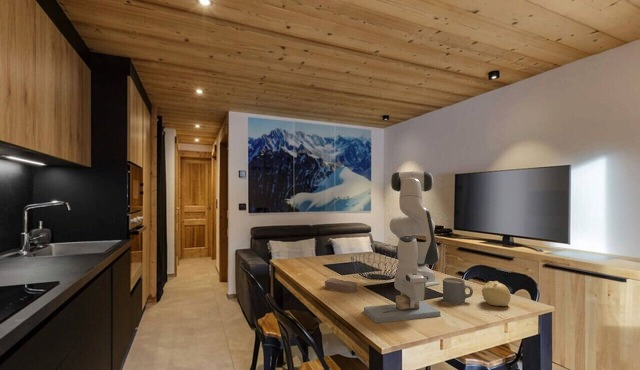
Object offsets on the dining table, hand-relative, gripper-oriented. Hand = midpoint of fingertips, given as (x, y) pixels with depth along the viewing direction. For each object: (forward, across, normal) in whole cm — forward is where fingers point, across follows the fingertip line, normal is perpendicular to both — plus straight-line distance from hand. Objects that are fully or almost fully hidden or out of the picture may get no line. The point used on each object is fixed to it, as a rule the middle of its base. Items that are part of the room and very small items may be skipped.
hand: (408, 304), depth 140 cm
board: (+4, 0, -4) cm, 5 cm away
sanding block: (+1, 0, 0) cm, 1 cm away
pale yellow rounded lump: (+4, 0, +46) cm, 46 cm away
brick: (+4, -41, -18) cm, 45 cm away
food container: (+4, -18, +16) cm, 24 cm away
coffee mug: (+4, -8, +31) cm, 32 cm away
